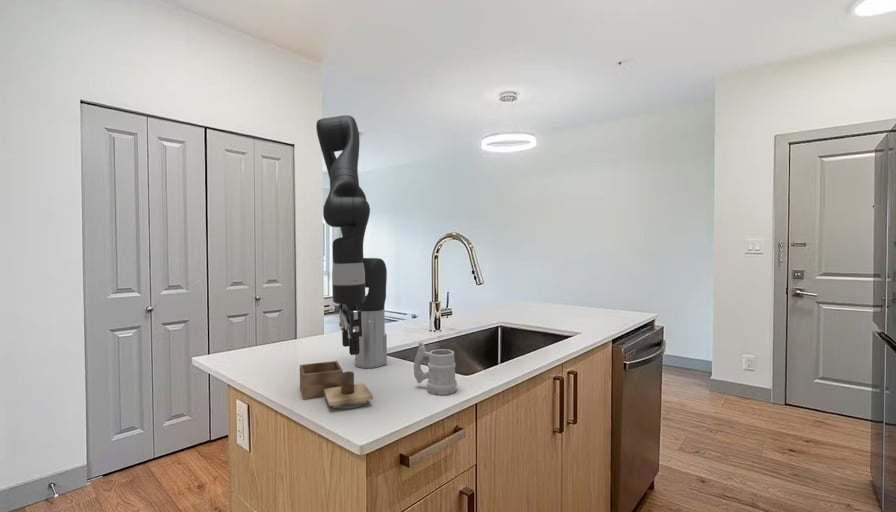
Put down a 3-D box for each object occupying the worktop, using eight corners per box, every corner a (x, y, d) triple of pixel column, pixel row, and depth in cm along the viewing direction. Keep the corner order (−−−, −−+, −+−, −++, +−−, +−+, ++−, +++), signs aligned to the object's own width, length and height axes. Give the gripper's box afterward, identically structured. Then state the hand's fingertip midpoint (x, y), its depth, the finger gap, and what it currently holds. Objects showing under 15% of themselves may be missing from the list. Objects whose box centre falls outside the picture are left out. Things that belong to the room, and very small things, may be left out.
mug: (450, 397, 105) (450, 348, 104) (407, 391, 109) (406, 344, 109) (461, 387, 112) (461, 341, 111) (420, 382, 116) (419, 338, 116)
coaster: (363, 393, 108) (363, 391, 108) (371, 405, 100) (371, 403, 99) (326, 398, 104) (326, 396, 104) (331, 411, 96) (331, 409, 96)
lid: (364, 390, 108) (363, 365, 108) (372, 403, 99) (372, 376, 99) (323, 396, 104) (323, 370, 104) (329, 410, 95) (328, 382, 95)
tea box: (337, 382, 116) (337, 360, 116) (343, 394, 108) (342, 370, 107) (299, 387, 113) (299, 364, 112) (302, 399, 104) (302, 375, 104)
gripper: (372, 283, 96) (373, 355, 97) (358, 278, 109) (359, 341, 110) (337, 286, 93) (340, 359, 94) (327, 280, 106) (329, 345, 107)
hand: (350, 350), depth 102 cm, fingers open, 8 cm apart
